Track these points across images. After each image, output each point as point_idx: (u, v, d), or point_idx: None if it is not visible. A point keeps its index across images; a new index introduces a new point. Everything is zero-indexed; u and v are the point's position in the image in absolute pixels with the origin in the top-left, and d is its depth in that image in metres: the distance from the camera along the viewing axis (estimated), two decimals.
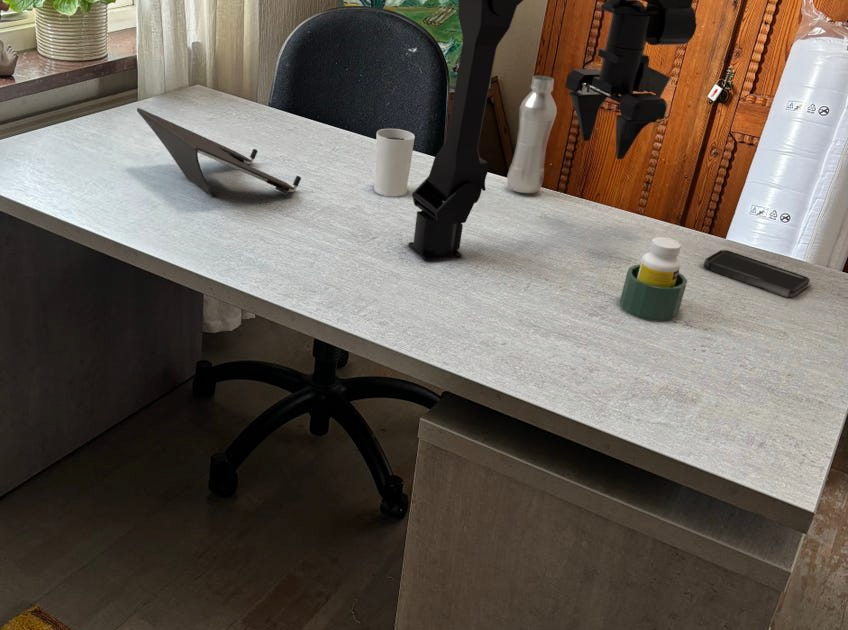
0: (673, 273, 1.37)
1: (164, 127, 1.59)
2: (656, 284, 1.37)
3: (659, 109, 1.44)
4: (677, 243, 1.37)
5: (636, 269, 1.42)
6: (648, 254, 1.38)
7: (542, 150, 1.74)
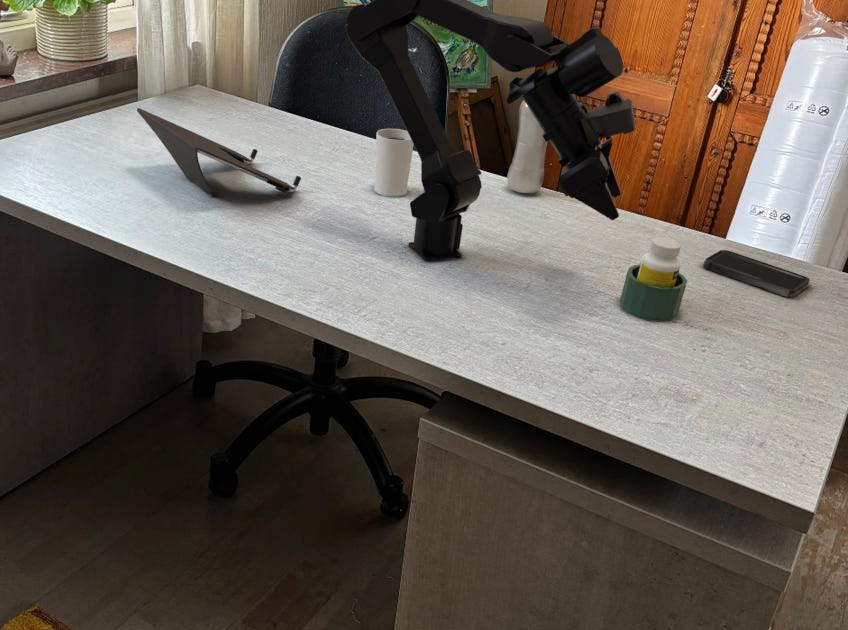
0: (673, 273, 1.37)
1: (164, 127, 1.59)
2: (656, 284, 1.37)
3: (588, 170, 1.26)
4: (677, 243, 1.37)
5: (636, 269, 1.42)
6: (648, 254, 1.38)
7: (542, 150, 1.74)
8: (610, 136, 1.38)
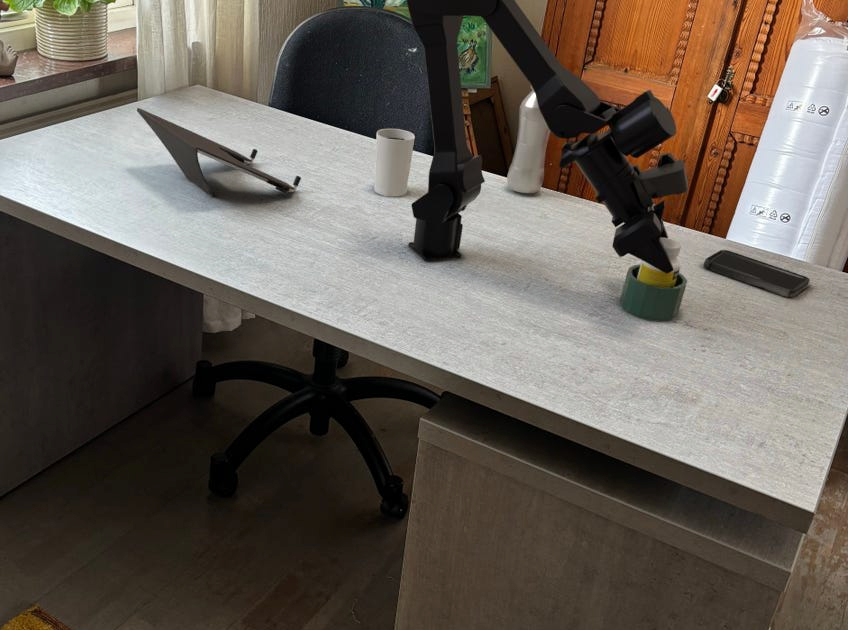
0: (673, 273, 1.37)
1: (164, 127, 1.59)
2: (656, 284, 1.37)
3: (642, 232, 1.27)
4: (677, 243, 1.37)
5: (636, 269, 1.42)
6: None
7: (542, 150, 1.74)
8: None
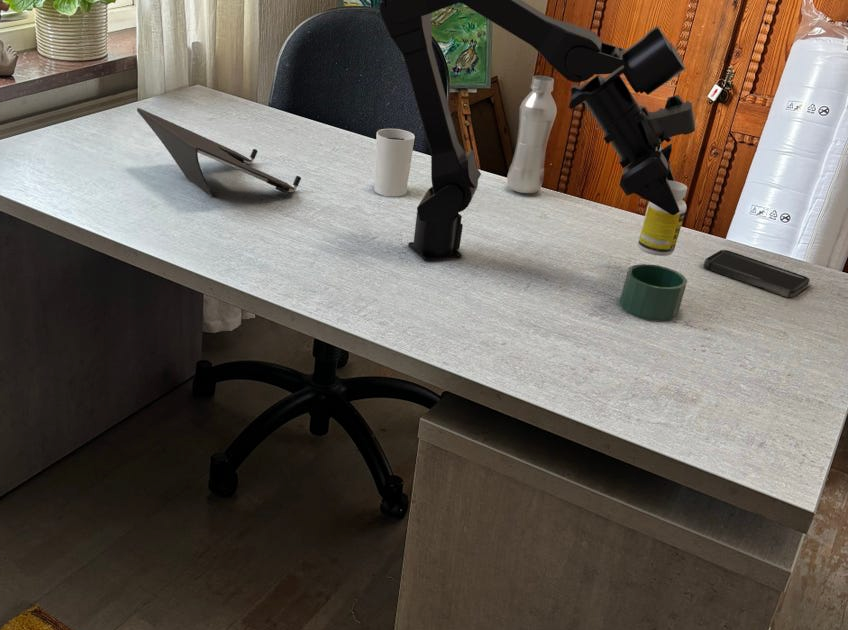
0: (679, 215, 1.38)
1: (164, 127, 1.59)
2: (662, 226, 1.39)
3: (649, 170, 1.29)
4: (684, 185, 1.38)
5: (636, 269, 1.42)
6: None
7: (542, 150, 1.74)
8: (670, 139, 1.41)
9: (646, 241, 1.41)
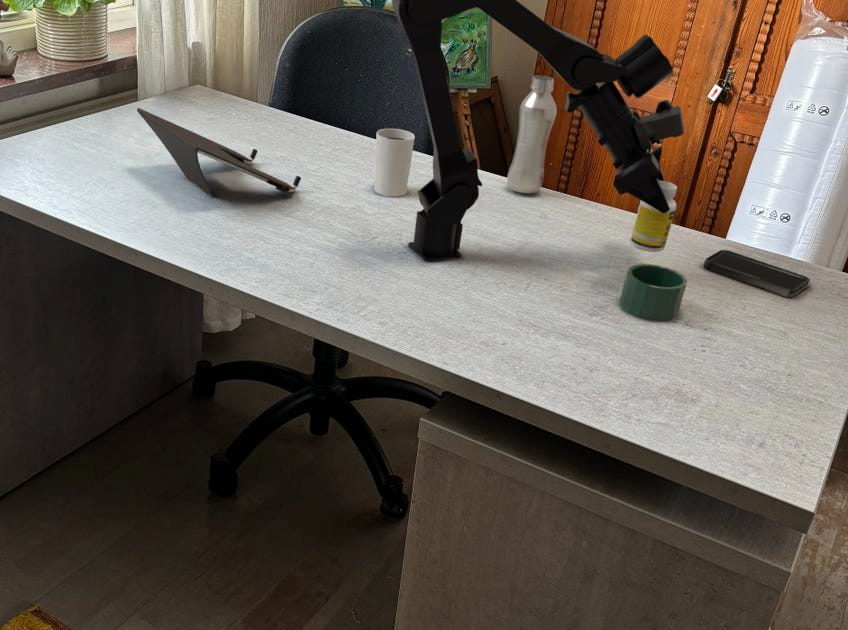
0: (670, 213, 1.46)
1: (164, 127, 1.59)
2: (653, 224, 1.47)
3: (641, 170, 1.37)
4: (673, 185, 1.46)
5: (636, 269, 1.42)
6: None
7: (542, 150, 1.74)
8: (660, 141, 1.49)
9: (638, 238, 1.49)
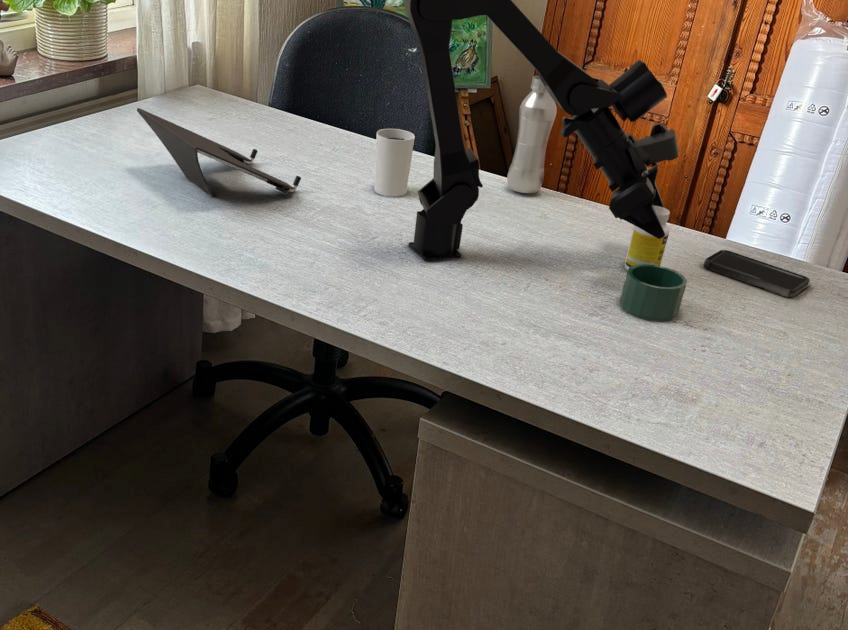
0: (663, 238, 1.49)
1: (164, 127, 1.59)
2: (647, 248, 1.49)
3: (636, 194, 1.39)
4: (666, 210, 1.48)
5: (636, 269, 1.42)
6: None
7: (542, 150, 1.74)
8: (656, 163, 1.51)
9: (632, 262, 1.52)
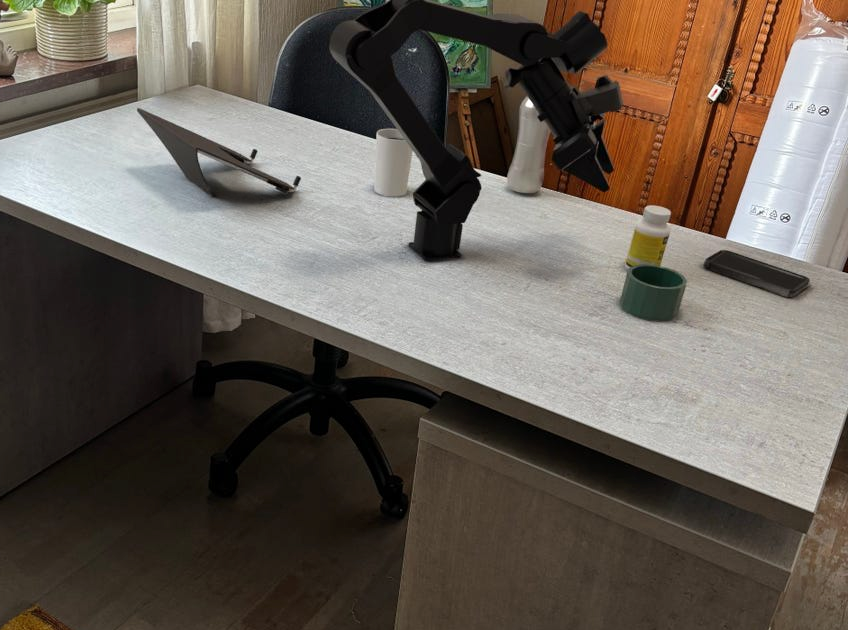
0: (663, 238, 1.49)
1: (164, 127, 1.59)
2: (647, 248, 1.49)
3: (578, 145, 1.38)
4: (667, 211, 1.49)
5: (636, 269, 1.42)
6: (641, 221, 1.50)
7: (542, 150, 1.74)
8: (602, 117, 1.49)
9: (632, 262, 1.52)
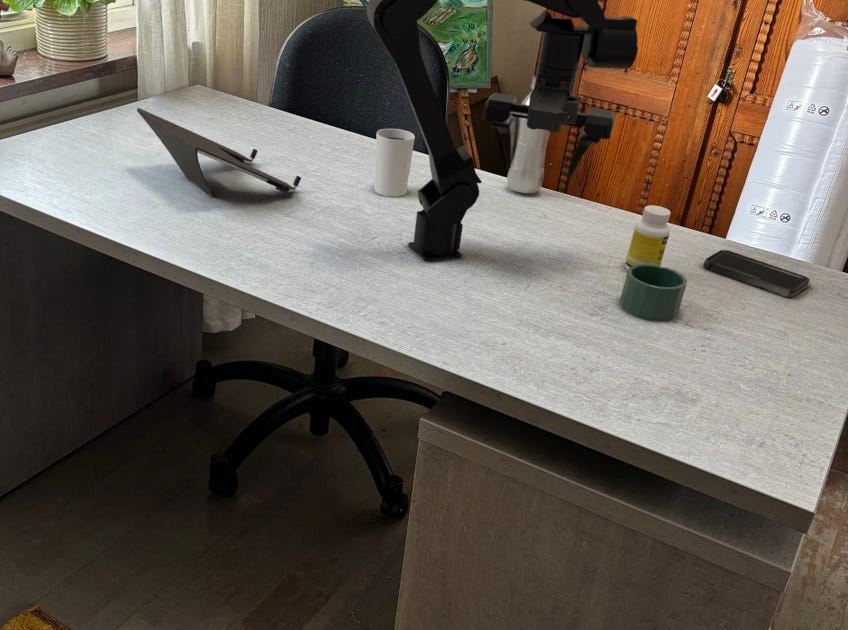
0: (663, 238, 1.49)
1: (164, 127, 1.59)
2: (647, 248, 1.49)
3: None
4: (667, 211, 1.48)
5: (636, 269, 1.42)
6: (640, 221, 1.50)
7: (542, 150, 1.74)
8: (588, 135, 1.40)
9: (632, 262, 1.52)
